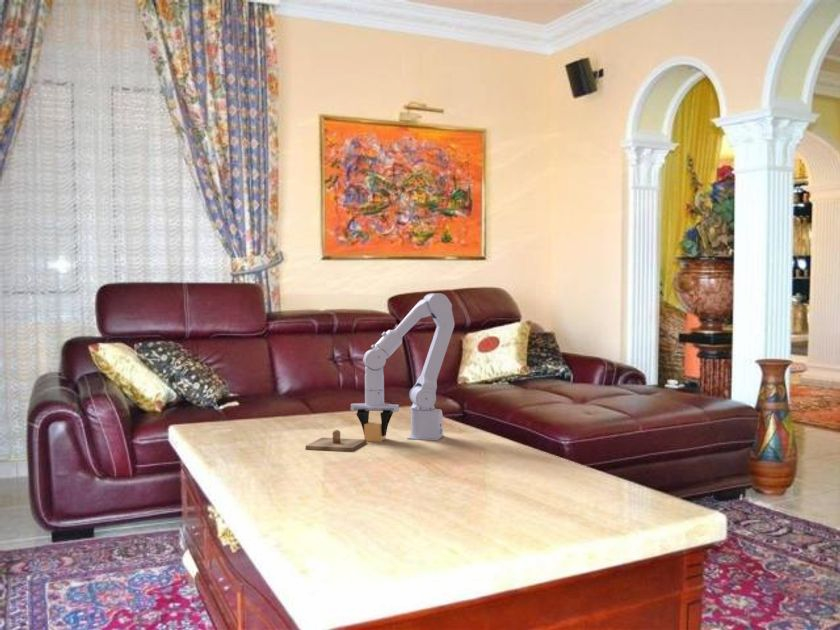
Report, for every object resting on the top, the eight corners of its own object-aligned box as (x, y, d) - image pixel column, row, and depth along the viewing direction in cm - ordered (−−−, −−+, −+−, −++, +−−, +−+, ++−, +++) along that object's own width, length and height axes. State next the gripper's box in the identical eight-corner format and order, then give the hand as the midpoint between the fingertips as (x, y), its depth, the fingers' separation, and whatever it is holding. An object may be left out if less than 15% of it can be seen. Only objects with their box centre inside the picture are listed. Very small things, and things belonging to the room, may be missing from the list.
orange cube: (385, 438, 223) (385, 422, 223) (380, 441, 219) (380, 424, 218) (369, 437, 225) (369, 421, 225) (364, 441, 220) (364, 424, 220)
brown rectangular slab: (366, 442, 217) (366, 426, 217) (352, 451, 205) (352, 434, 205) (322, 441, 221) (321, 425, 221) (305, 449, 209) (305, 432, 209)
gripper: (346, 390, 219) (347, 436, 220) (393, 392, 215) (394, 438, 216) (355, 387, 226) (355, 432, 226) (400, 389, 222) (401, 434, 223)
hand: (375, 435), depth 222 cm, fingers closed on orange cube, 5 cm apart
